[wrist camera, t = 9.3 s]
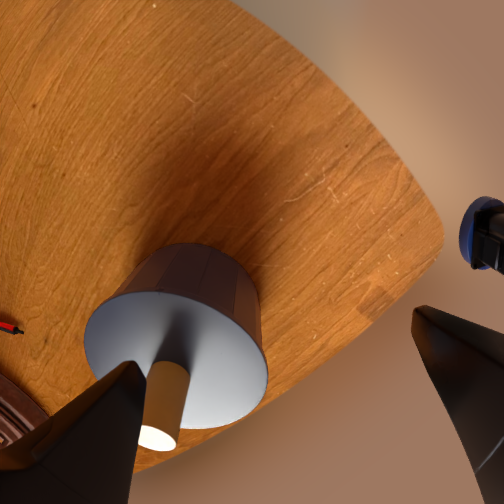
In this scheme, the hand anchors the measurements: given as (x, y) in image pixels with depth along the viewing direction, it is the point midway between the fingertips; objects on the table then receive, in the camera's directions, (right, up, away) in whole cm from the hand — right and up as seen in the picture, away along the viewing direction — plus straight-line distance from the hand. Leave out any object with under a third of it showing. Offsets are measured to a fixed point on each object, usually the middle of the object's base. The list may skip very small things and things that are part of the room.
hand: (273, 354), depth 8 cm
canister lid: (-5, -4, +7) cm, 10 cm away
